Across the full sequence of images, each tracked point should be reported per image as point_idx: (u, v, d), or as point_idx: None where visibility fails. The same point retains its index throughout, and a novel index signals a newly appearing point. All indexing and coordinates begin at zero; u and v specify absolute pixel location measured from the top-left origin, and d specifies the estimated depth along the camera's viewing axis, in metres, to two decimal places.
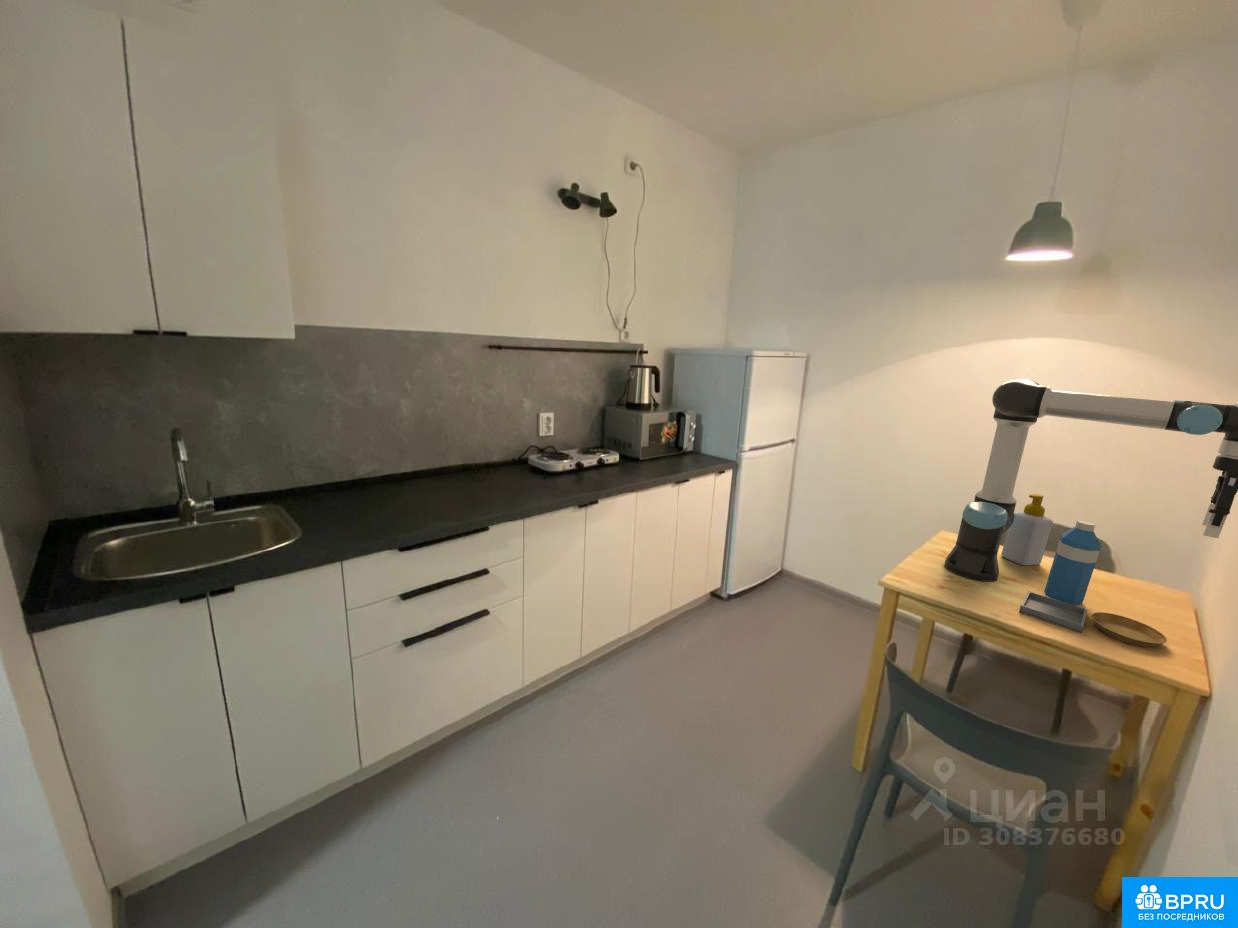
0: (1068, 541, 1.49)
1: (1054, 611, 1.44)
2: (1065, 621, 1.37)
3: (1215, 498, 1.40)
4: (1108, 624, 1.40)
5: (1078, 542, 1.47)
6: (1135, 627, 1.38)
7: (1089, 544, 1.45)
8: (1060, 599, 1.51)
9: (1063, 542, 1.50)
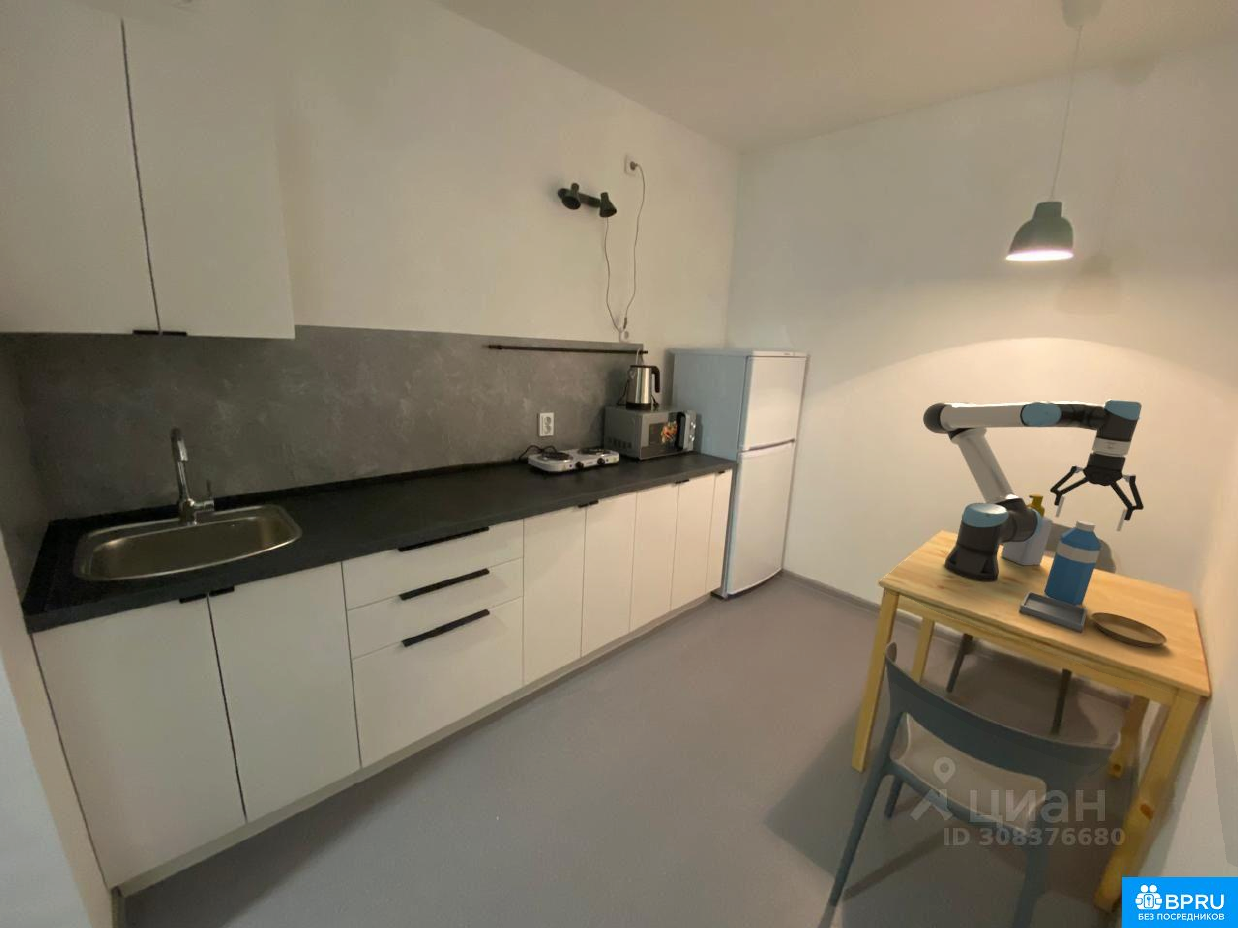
0: (1068, 541, 1.49)
1: (1054, 611, 1.44)
2: (1065, 621, 1.37)
3: None
4: (1108, 624, 1.40)
5: (1078, 542, 1.47)
6: (1135, 627, 1.38)
7: (1089, 544, 1.45)
8: (1060, 599, 1.51)
9: (1063, 542, 1.50)
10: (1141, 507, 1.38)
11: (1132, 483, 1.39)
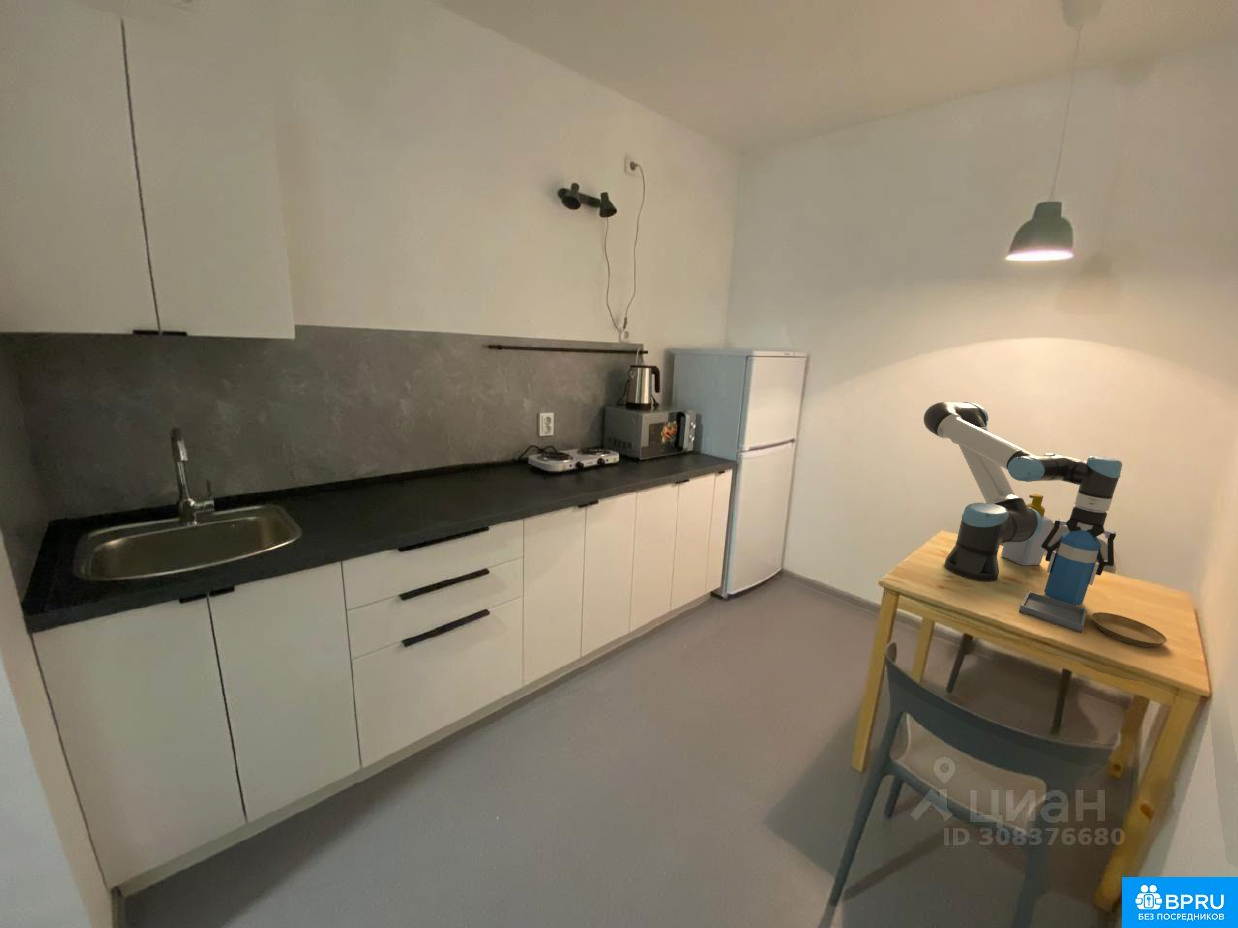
0: (1068, 541, 1.49)
1: (1054, 611, 1.44)
2: (1065, 621, 1.37)
3: None
4: (1108, 624, 1.40)
5: (1078, 542, 1.47)
6: (1135, 627, 1.38)
7: (1089, 544, 1.45)
8: (1060, 599, 1.51)
9: (1063, 542, 1.50)
10: (1111, 563, 1.44)
11: (1110, 540, 1.44)
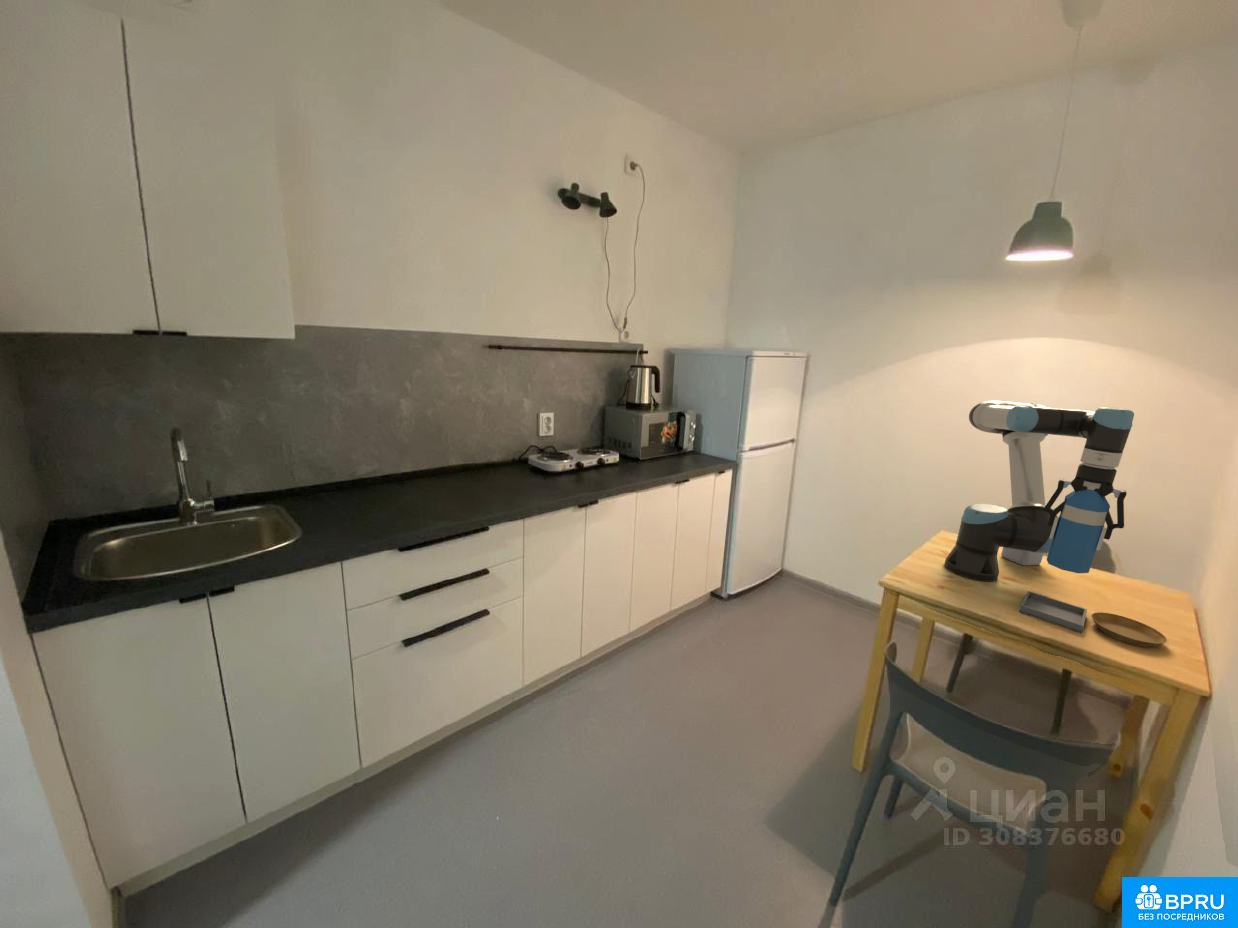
0: (1074, 502, 1.35)
1: (1054, 611, 1.44)
2: (1065, 621, 1.37)
3: None
4: (1108, 624, 1.40)
5: (1084, 503, 1.33)
6: (1135, 627, 1.38)
7: (1097, 504, 1.31)
8: (1064, 567, 1.37)
9: (1068, 504, 1.36)
10: (1121, 526, 1.30)
11: (1120, 500, 1.30)
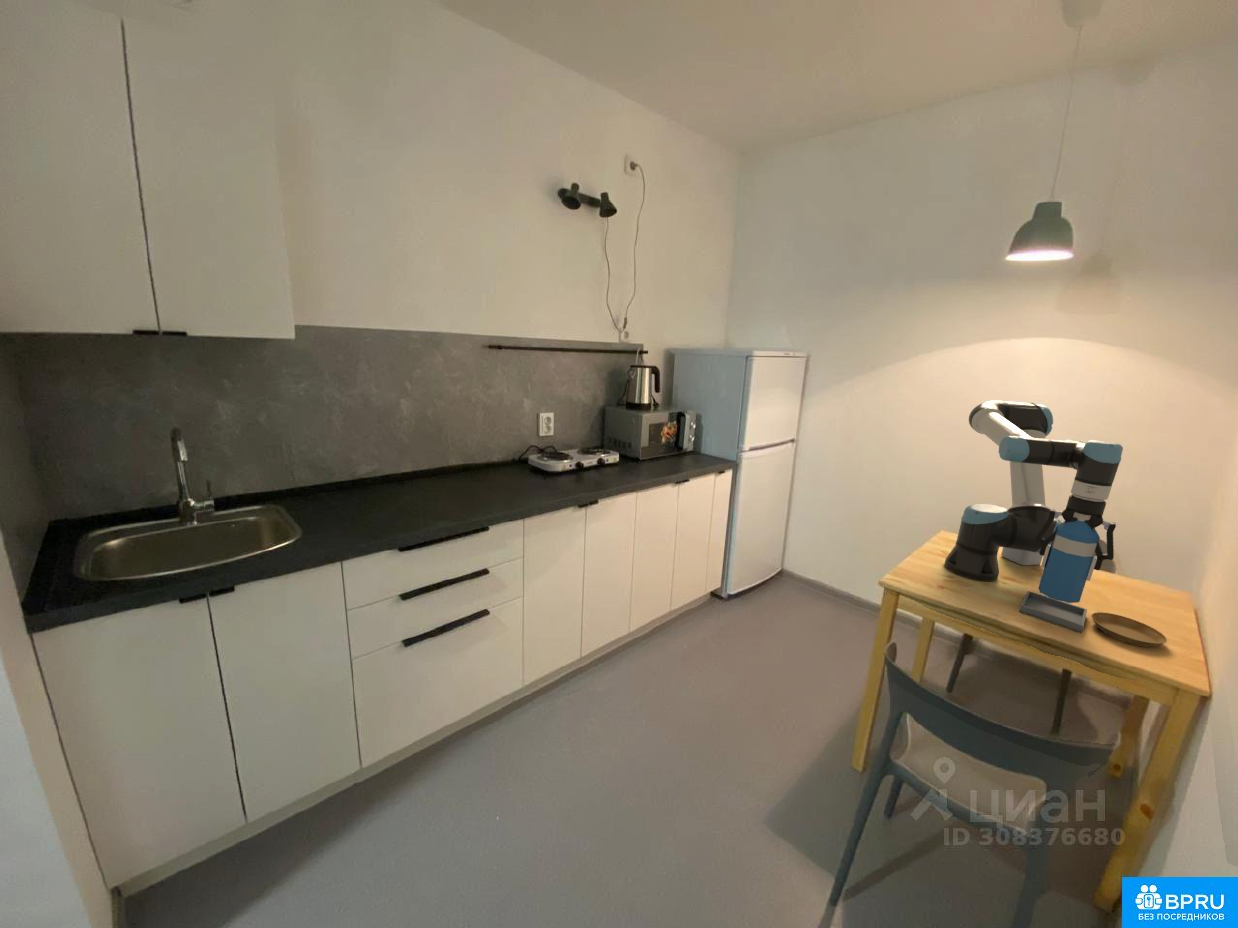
0: (1064, 533, 1.37)
1: (1054, 611, 1.44)
2: (1065, 621, 1.37)
3: None
4: (1108, 624, 1.40)
5: (1075, 534, 1.35)
6: (1135, 627, 1.38)
7: (1087, 536, 1.33)
8: (1055, 596, 1.39)
9: (1058, 534, 1.38)
10: (1111, 557, 1.32)
11: (1110, 532, 1.32)
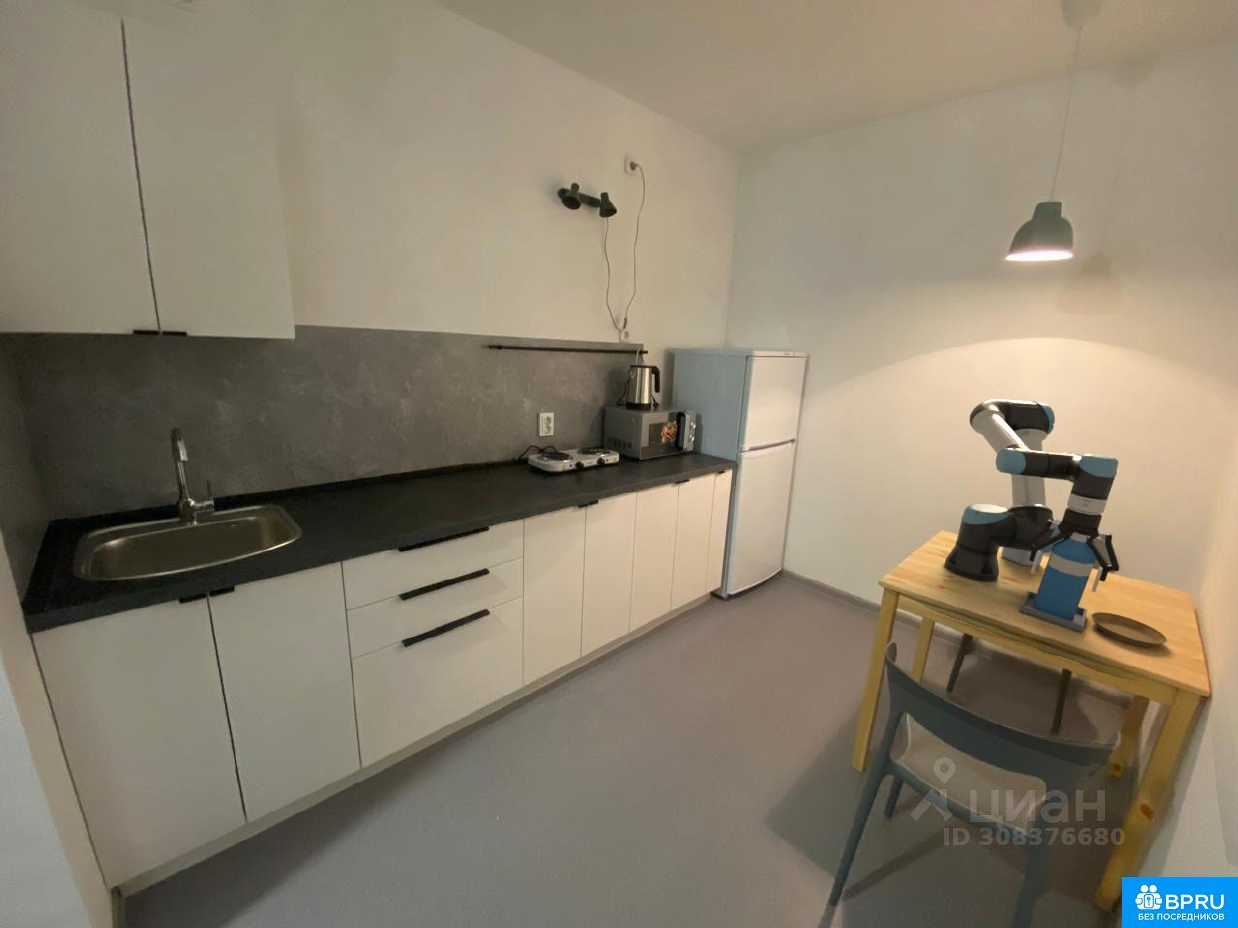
0: (1061, 553, 1.38)
1: None
2: (1065, 621, 1.37)
3: None
4: (1108, 624, 1.40)
5: (1071, 554, 1.35)
6: (1135, 627, 1.38)
7: (1083, 556, 1.34)
8: (1049, 613, 1.41)
9: (1055, 553, 1.39)
10: (1117, 568, 1.32)
11: (1108, 543, 1.33)
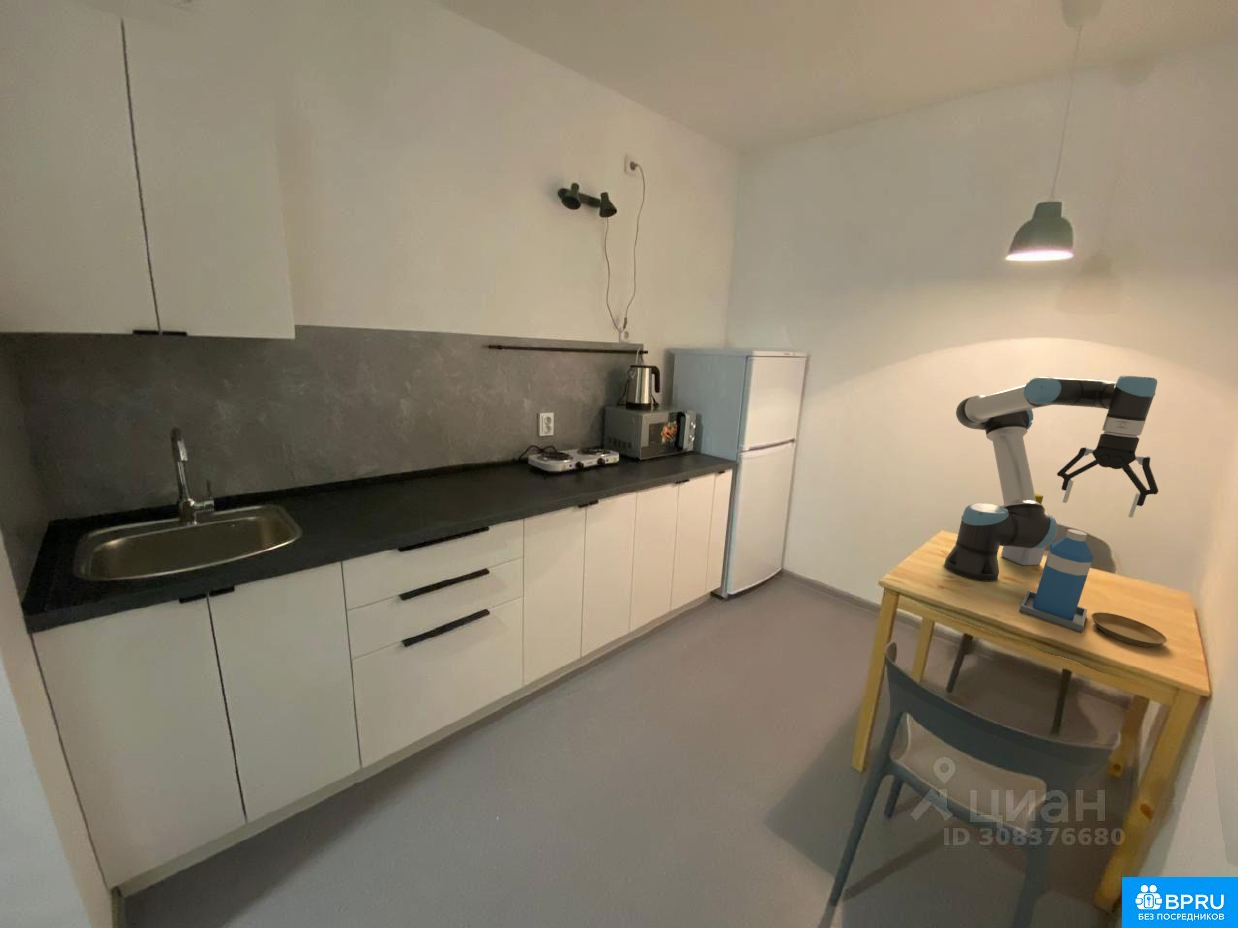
0: (1058, 552, 1.38)
1: None
2: (1065, 621, 1.37)
3: None
4: (1108, 624, 1.40)
5: (1068, 553, 1.36)
6: (1135, 627, 1.38)
7: (1080, 555, 1.35)
8: None
9: (1052, 552, 1.40)
10: (1155, 491, 1.29)
11: (1146, 465, 1.29)
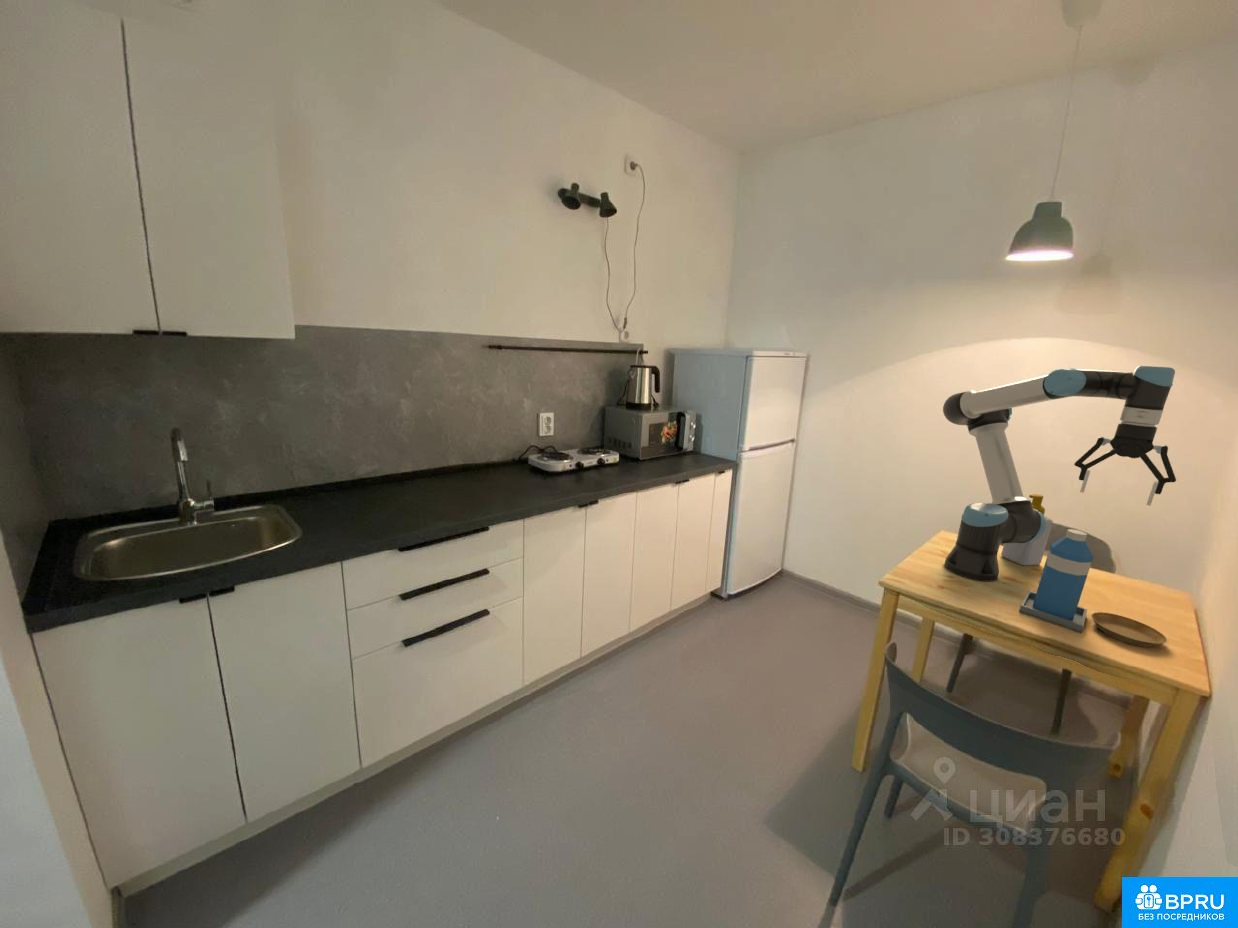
0: (1058, 552, 1.38)
1: None
2: (1065, 621, 1.37)
3: None
4: (1108, 624, 1.40)
5: (1068, 553, 1.36)
6: (1135, 627, 1.38)
7: (1080, 555, 1.35)
8: None
9: (1052, 552, 1.40)
10: (1173, 479, 1.31)
11: (1164, 454, 1.31)
